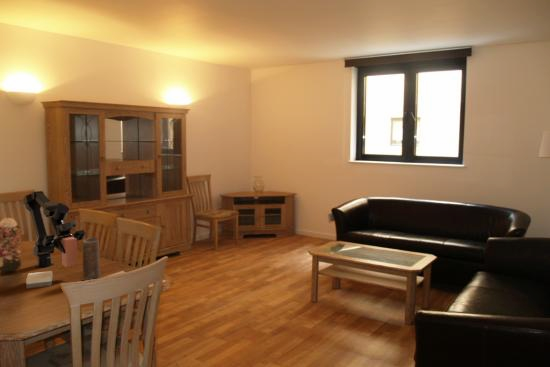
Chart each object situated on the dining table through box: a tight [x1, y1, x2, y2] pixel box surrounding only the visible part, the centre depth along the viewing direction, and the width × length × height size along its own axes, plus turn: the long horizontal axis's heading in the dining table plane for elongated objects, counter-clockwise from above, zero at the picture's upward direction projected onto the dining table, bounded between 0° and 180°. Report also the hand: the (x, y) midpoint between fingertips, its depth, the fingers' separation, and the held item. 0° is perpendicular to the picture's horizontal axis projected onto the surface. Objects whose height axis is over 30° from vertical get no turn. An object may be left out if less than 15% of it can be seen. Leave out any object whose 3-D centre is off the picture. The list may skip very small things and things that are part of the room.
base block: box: [25, 270, 53, 289], centre depth 209 cm, size 10×10×4 cm
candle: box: [81, 237, 101, 281], centre depth 213 cm, size 8×7×20 cm
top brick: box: [61, 237, 78, 268], centre depth 216 cm, size 5×5×13 cm
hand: (70, 251), depth 215 cm, fingers closed on top brick, 5 cm apart
